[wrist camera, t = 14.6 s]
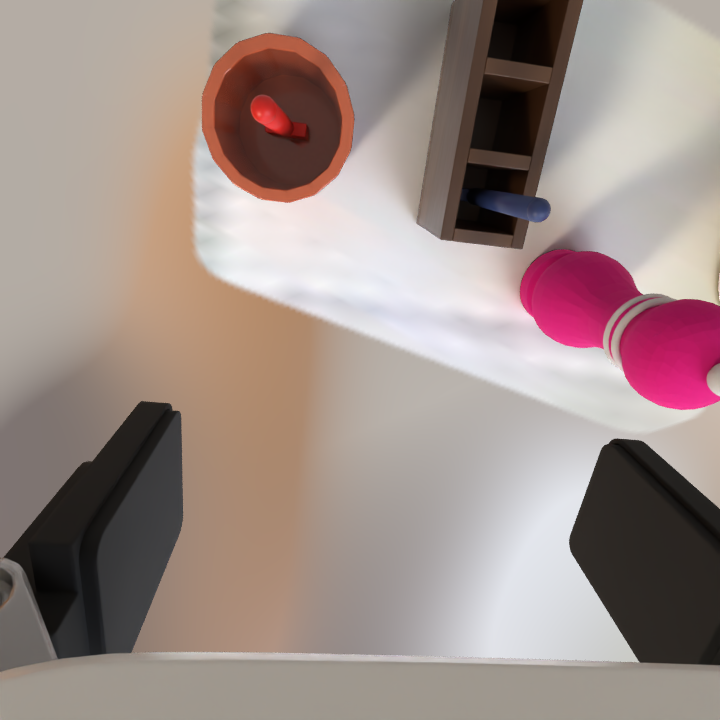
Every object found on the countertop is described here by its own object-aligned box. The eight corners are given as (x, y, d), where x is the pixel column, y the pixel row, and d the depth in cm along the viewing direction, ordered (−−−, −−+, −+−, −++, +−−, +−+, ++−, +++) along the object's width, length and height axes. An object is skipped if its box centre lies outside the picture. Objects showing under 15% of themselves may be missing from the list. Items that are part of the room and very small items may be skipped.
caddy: (527, 16, 33) (591, -32, 25) (481, 231, 39) (522, 249, 30) (451, 4, 33) (492, -50, 25) (416, 223, 38) (439, 239, 30)
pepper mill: (523, 337, 42) (674, 472, 24) (505, 261, 40) (659, 346, 21) (603, 309, 42) (821, 425, 23) (590, 229, 39) (824, 289, 21)
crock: (354, 75, 34) (362, 47, 26) (341, 199, 37) (344, 209, 29) (233, 57, 33) (201, 21, 25) (231, 185, 36) (201, 192, 28)
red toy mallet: (309, 125, 34) (294, 97, 20) (307, 142, 35) (292, 127, 20) (272, 120, 34) (230, 88, 20) (271, 137, 34) (229, 118, 20)
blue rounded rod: (476, 187, 37) (572, 202, 22) (473, 202, 37) (566, 227, 22) (443, 182, 36) (519, 195, 22) (440, 198, 37) (513, 220, 22)
